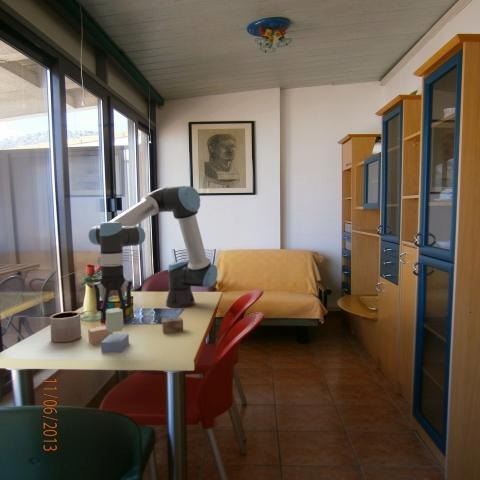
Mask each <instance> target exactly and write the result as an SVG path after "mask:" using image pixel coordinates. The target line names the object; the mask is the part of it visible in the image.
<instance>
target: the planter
mask: <svg viewBox="0 0 480 480" xmlns="http://www.w3.org/2000/svg"><path fill="white" fill-rule="evenodd" d="M49 321H50V322H49V324H50V340H51V341H52V342H53V343H55V344H57V343H58V344H65V343H70V342H74V341H76V340H79V339H80V338H81V337H82V327H81V325H82V324H81V323H82V322H81V313H80V312H78V311H62V312H57V313H54V314H52V315H50V316H49Z"/></svg>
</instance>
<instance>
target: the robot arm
mask: <svg viewBox="0 0 480 480" xmlns="http://www.w3.org/2000/svg"><path fill="white" fill-rule="evenodd" d="M200 207H201V198H200V195H199V192H198V190H197V188H194V187H193V186H189V185H188V186H187V185H183V186H181V185H180V186H164V187H160V188H158V189H156V190H153V191H151V192H150V193H148V194H147V195H144V196H143V197H142V198H141V199H140V201H139V202H138V203H136V204H135V205H133V206H132V207H129V208H128V209H127V210H125V211H124V212H121V214H119V215H117V216H116V217H114V218H113V219H111V220H110V221H103V222H101V223H100V224H99V225H97V226H93V227H91V228H90V229H89V232H88V238H89V239H88V240H89V241H90V243H91V244H93V245H97V246H100V264H101V266H100V268H101V269H100V270H101V278H100V281H99V282H94V283H93V284H92V286H93V289H94V293H95V308H96V311H97V312H100V313H101V312H102V320H103V321H105V323H104V324H105V326H106V330H109V326H108V311H106V308H107V303H108V298H109V294H110V291H113V290H117V293H118V297H119V300H120V304H121V307H122V309H120V310H121V314H122V329H124V323H123V319H124V318H126V309H127V308H130V307H131V296H132V294H131V293H132V292H131V291H132V289H131V288H132V284H133V281H132V280H130V279H126V278H125V277H124V265H123V263H124V257H123V256H124V254H123V253H124V251H123V248H124V247H133V246H134V247H136V246H139V245H142V244H143V243H144V242H145V240H146V232H145V230H144V229H143V227H141V226H139V224H140V223H142V222H143V221H145V220H146V219H147V218H149V217H151V216H155V215H157V214H159V213H166V212H167V213H171V212H172V215H173V217H174V219H175V220H177V221H178V224H179V226H180V227H179V228H180V231H181V235H182V239H183V242H184V245H185V246H184V247H185V249H186V254H187V256H188V260H181V261H175V262H171V263H169V264H168V270H167V272H168V294H167V297H166V300H165V305H166V307H168V308H173V309H178V308H179V309H182V308H188V307H189V308H190V307H192V306H195V303H196V301H195V297H194V294H193V292H192V287H197V288H198V287H200V288H211V287H213V286H214V285H215V283H216V282H217V277H218V267H217V266H216V265H215V264H212V263H211V259H210V257H207V253H206V251H205V247H204V243H203V239H202V238H203V237H202V235H201V232H200V228H199V223H198V219H197V214H198V212H199V209H200ZM101 284H102V285H103V286H104V288H105V295H104V300H103V305H102V308H101V307H100V301H101V297H100V287H101ZM123 284H124V285H125V290H126V293H125V296H126V305H125V303H124V299H123V296H122V292H121V286H122V285H123Z"/></svg>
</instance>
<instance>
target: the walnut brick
mask: <svg viewBox="0 0 480 480" xmlns="http://www.w3.org/2000/svg"><path fill="white" fill-rule="evenodd" d="M161 321H162V332H163V335H165V334H166V335H167V334H174V333H175V334H177V333H184V319H183V317H181V316H180V317H171V318H162V319H161Z"/></svg>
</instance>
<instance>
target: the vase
mask: <svg viewBox="0 0 480 480" xmlns="http://www.w3.org/2000/svg"><path fill="white" fill-rule="evenodd" d="M99 292H100V300H103V299H104V295H105V288H104V286H103V285H102V284H101V285H100V288H99ZM121 292H122V296H126V285H125V283H124V284H123V285H122V286H121ZM113 295H117V296H118V293H117V290H113V291H110V294H109V297H110V296H113Z"/></svg>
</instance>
